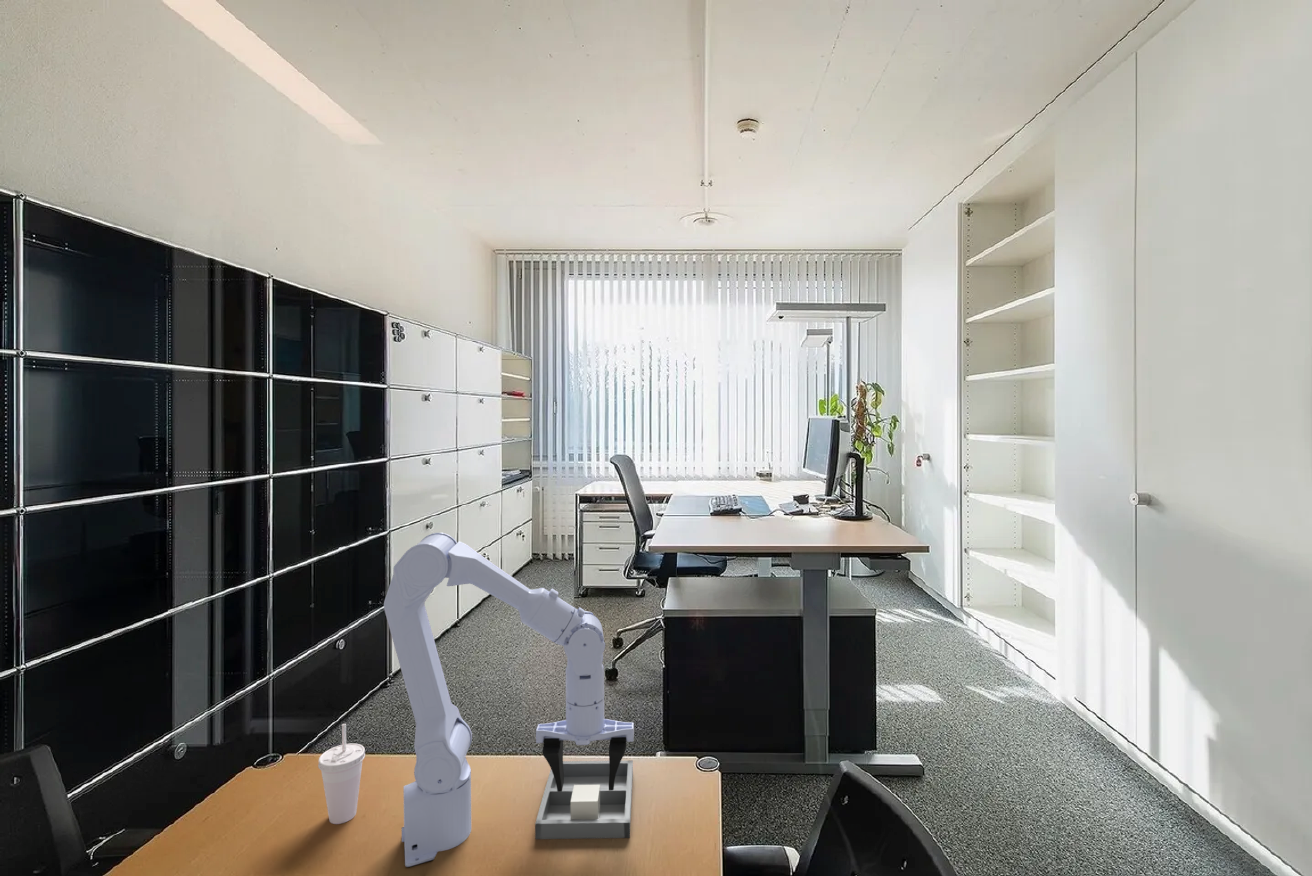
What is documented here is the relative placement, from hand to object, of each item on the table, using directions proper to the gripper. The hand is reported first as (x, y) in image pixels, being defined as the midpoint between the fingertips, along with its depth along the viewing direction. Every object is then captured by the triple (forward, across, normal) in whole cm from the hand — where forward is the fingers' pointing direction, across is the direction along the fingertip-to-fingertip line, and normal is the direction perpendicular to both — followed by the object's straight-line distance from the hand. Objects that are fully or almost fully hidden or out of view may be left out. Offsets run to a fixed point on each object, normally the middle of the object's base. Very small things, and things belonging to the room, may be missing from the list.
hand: (586, 786), depth 88 cm
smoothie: (+6, -38, +3) cm, 39 cm away
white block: (+5, 0, 0) cm, 5 cm away
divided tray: (+6, 0, +4) cm, 7 cm away
